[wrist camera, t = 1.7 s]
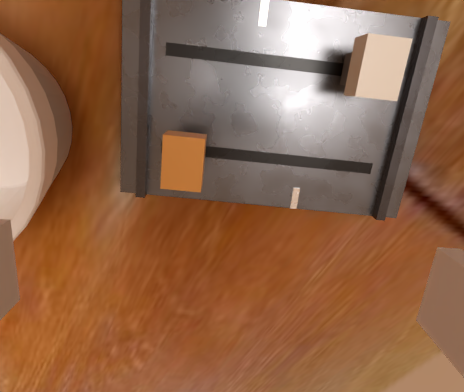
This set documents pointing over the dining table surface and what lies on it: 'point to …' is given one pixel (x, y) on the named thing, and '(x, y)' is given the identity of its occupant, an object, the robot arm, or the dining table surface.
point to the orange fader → (183, 161)
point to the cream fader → (375, 66)
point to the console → (271, 102)
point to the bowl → (29, 133)
